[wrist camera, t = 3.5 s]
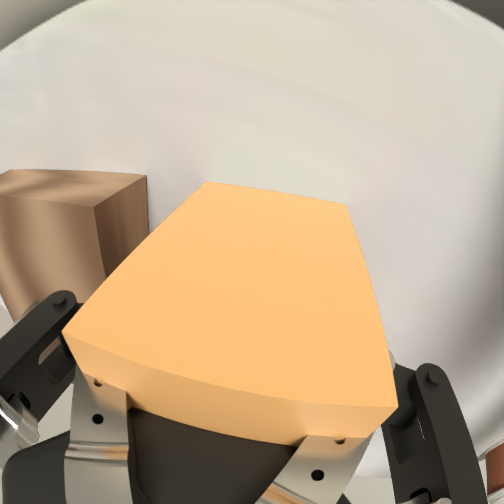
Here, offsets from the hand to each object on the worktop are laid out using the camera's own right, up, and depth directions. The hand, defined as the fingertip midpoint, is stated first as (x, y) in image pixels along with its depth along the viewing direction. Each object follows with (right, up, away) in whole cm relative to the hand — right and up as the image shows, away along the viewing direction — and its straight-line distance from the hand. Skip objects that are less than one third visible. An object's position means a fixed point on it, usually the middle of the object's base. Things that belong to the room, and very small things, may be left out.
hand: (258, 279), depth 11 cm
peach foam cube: (0, 0, +3) cm, 3 cm away
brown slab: (-12, -1, +5) cm, 13 cm away
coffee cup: (+43, -33, +13) cm, 56 cm away
